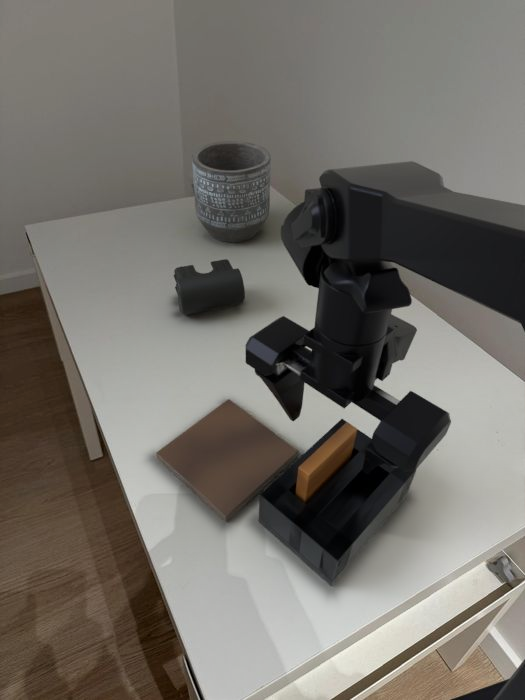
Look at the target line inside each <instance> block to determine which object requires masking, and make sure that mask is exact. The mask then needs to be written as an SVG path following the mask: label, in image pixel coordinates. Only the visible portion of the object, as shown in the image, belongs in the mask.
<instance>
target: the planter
mask: <svg viewBox="0 0 525 700" xmlns="http://www.w3.org/2000/svg"><path fill="white" fill-rule="evenodd" d="M271 160H272V159H271V154H270V152H269V151H268V150H267V148H265V147H263V146H262V145H259V144H255V143H251V142H247V141H241V140H240V141H239V140H222V141H215V142H214V141H213V142H209V143H207V144H203V145H201V146H200V147H198V148H196V149H195V150H194V151H193V153H192V155H191V164H192V180H193V181H192V182H193V192H194V207H195V215H196V218H197V220H199V222H200V223H201V225H202V227H203V228H204V229H205V230H206V232H207V233H208V234H209V235H210V236H211V237H212V238H213V239H215V240H218V241H220V242H224V243H242V242H246V241H248V240H250V239H252V238H254V237H256V235H257V233H259V231H260V229H262V227H263V226H264V224H265V222H266V221H267V220H268V217H269V215H270V207H271V197H270V196H271V194H270V192H271Z"/></svg>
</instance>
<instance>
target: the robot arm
mask: <svg viewBox="0 0 525 700" xmlns="http://www.w3.org/2000/svg"><path fill="white" fill-rule="evenodd" d="M318 180H319V184H320V187H316V188H315V187H314V188H307V189H305V190H304V197H303V202H301V203H299V204H298V205H296V206H294V208H292V210H291V211H290V212H289V213H288V214H287V216H286V217H285V219H284V221H283V223H282V224H281V226H280V239H281V242H282V244H283V246H284V247H285V249H286V252H287V253H288V255H289V256H290V258H291V259H292V262H293V263H294V264H295V265H294V266H296V268H297V270H298V272H299V274H300V275H301V276H302V278H303V281H304V282H305V283H306V284H307V286H310V287H313V288H316V289H318V291H317V301H316V308H315V318H314V327H313V328H312V329H310V330H308V329H307V328H305V327H303V326H302V325H300V324H298V323H297V322H296V321H294V320H292V319H290V318H288V317H286V316H285V315H282V316H280V317H278V318H276V319H275V320H274V321H272V322H271V323H269V324H267V325H266V326H264V327H263V328H261V329H260V330H258V331H257V332H256V333H254V334H252V335H251V336H250V337H249V338H248V340H247V341H246V343H245V364H247V366H249V367H251V368H253V369H254V373H255V375H256V376H258V377H259V379H261V381H262V382H263V383H264V384H265V386H266V387H267V388H268V390H269V391H270V392H271V394H272V395H273V396H274V398H275V399H276V401H277V402H278V404H279V405H280V407H281V408H282V410H283V411H284V413H285V414H286V415H287V418H289V420H290V421H291V422H295V421H296V420H297V419H298V418H300V416H301V412H302V409H303V403H304V393H305V385H307V386H309V387H310V388H311V389H313V390H315V391H317V392H318V393H320V394H321V395H323V396H324V397H325V398H327V399H329V400H330V401H332V402H333V403H335V404H337V405H338V406H339V407H341V408H342V409H346V408H347V407H348V406H349V405H350V404H351V403H352V404H354V405H355V406H357V407H359V409H361V410H363V411H364V412H366V413H368V414H369V415H371V416H372V417H374V418H375V419H377V420H378V421H379V423H378V425H377V426H376V427H375V429H374V431H373V433H372V436H371V439H372V440H371V443H370V444H369V445H368V446H367V448H366V452H365V458H364V463H363V471H364V473H366V474H368V473H369V472H370V471H371V470H372V469H373V468H375V467H376V466H379V465H382V464H387V465H388V466H390V467H392V468H397V467H399V468H401V469H402V470H404V471H415V470H416V469H417V470H418V468H419V467H420V466H421V464H422V463H423V462H424V461H425V460H426V459H427V457H428V456H429V455H430V454H431V453H432V451H434V449H435V448H436V447H437V446H438V445H439V444H440V443H441V441H442V440H443V439H444V437H445V436H446V435H447V433H448V431H449V428H450V426H451V423H452V419H451V416H450V415H451V414H450V412H448V411H446V410H445V409H443V408H441V407H440V406H438V405H437V404H435V403H432V402H431V401H429V400H428V399H426V398H424V397H423V396H421V395H419V394H418V393H416V392H414V391H413V390H409V392H407V394H406V395H404V396H403V398H401V400H400V399H398V398H396V397H395V396H393V395H391V394H389V393H388V392H387V391H385V390H383V389H381V388H380V387H378V386H377V385H375V383H376V380H379V381H381V382H383V381H384V380H385V379H386V378H388V377H389V376H390V375H391V371H392V368H393V364H396V363H398V362H399V361H404V360H405V359H406V356H407V354H408V352H409V349H410V347H411V345H412V343H413V341H414V338H415V336H416V333H417V332H418V329H417V327H416V326H415V325H413V324H411V323H410V322H407V321H406V320H404V319H401V318H399V316H396V315H394V314H392V311H393V310H395V309H401V308H408V307H410V306H411V305H412V303H413V300H412V295H411V292H410V289H409V288H408V286H407V285H406V284H405V283H404V281H403V280H402V278H401V275H400V271H399V269H398V268H397V267H395V266H394V264H396V265H397V266H400V267H402V268H405V269H406V270H408V271H411V272H413V273H415V274H417V275H418V276H421V277H423V278H425V279H427V280H429V281H431V282H432V283H435V284H438V285H439V286H441V287H443V288H446V289H448V290H450V291H452V292H454V293H457V294H458V295H461V296H462V297H465V298H467V299H469V300H470V301H473V302H475V303H477V304H478V305H480V306H483V307H485V308H486V309H490V310H491V311H493V312H495V313H498V314H499V315H502V316H503V317H506V318H508V319H510V320H512V321H514V322H516V323H518V324H520V325H521V328H522V329H523V332H525V204H521V203H515V202H510V201H505V200H500V199H499V200H498V199H494V198H490V197H483V196H479V195H474V194H468V193H463V192H457V191H453V190H452V189H450V188H447V187H445V186H444V185H445V184H444V179H443V176H442V175H441V174H440V173H439V172H436V171H435V170H432V169H430V168H428V167H426V166H424V165H423V164H421V163H419V162H416V161H413V160H409V161H401V162H399V161H398V162H389V163H380V164H370V165H359V166H349V167H339V168H329V169H326V170H324V171H323V172H322V173H321V175H320V176H319V178H318ZM392 263H394V264H392ZM417 470H416V471H417ZM450 700H525V658H524V659H523V660H522V662H521V663H520V664H519V665H518V667H517V668H516V670H515V671H514V672H513V674H512V675H511V676H510V677H509V678H507V679H503V680H502V681H499V682H495V683H493V684H491V685H487V686H484V687H482V688H479V689H476V690H473V691H470V692H468V693H464V694H462V695H459V696H457V697H453V698H451V699H450Z"/></svg>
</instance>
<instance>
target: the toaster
mask: <svg viewBox="0 0 525 700" xmlns="http://www.w3.org/2000/svg"><path fill="white" fill-rule="evenodd" d="M346 422H347V420H345V419H344V418H340V419H339V421H337V422H336V423H335V424H334V425H333V426H332V427H331V428H330V429H329V430H328V431H327V432H326V433H324V434H323V435H322V436H321V437H320V438H319V439H318V440H317V441H315V443H314V444H313V445H311V446H310V447H309V448H308V449H307V450H306V451H305V452H304V453H303V454H302V455H301V456H300V457H298V458H297V459H295V461H293V463H291V465H290V466H289V467H288V468H286V469H285V470H284V471H283V472H281V474H280V475H278V477H276V479H275V480H273V481H272V483H270V484H269V485H268V486H267V487H266V488H265V489H264V490H263V491H262V492H261V493H259V496H258V497H259V501H258V523H259V524H260V525H261V526H262V527H263V528H264V529H266V530H267V531H268V532H269V533H271V534H272V535H273V536H274V537H275V538H276V539H277V540H278V541H279V542H280V543H281V544H283V545H284V546H285V547H286V548H287V549H289V550H290V552H292V553H293V554H294V555H295V556H297V558H298V559H300V560H301V562H303V563H304V564H305V565H306V566H308V567H309V568H310V569H311V570H312V571H313V572H314V573H315V574H317V575H318V576H319V577H320V578H321V579H322V580H324V582H326V584H328V585H329V586H330V587H333V585H334V584H335V582H336V581H337V580H338V579H339V578H340V577H341V575H342V574H343V573H344V572H345V571H346V569H348V567H350V565H351V564H352V563H353V562H354V560H355V559H356V557H358V555H359V554H360V553H361V552H362V550H363V549H364V548H365V547H366V545H367V544H368V543H369V542H370V541H371V539H372V538H373V537H374V536H375V535H376V534H377V532H378V531H379V530H380V529H381V528H382V527H383V525H384V524H385V523H386V521H388V519H389V518H390V517H391V515H392V514H394V512H395V511H396V510H397V508H398V507H399V506H400V505H401V504H402V502H403V501H404V500H405V499H406V498H407V496H408V493H409V490H410V489H411V485H412V482H413V481H414V477H415V475H416V472H417V470H418V468H417V469H416V470H415V471H404V470H402V469H401V468H399V467H397V468H392V467H390V466H388V465H387V464H382V465H379V466H376V467H375V468H373V469H372V470H371V471H370V472H369V473H368V474H366V473H364V471H363V463H364V458H365V452H366V448H367V446H368V445H369V444H370V443H371V440H372V437H370V436H369V435H367V434H366V433H364V432H363V431H361V430H359V428H357V433H356V437H355V442H354V446H353V450H352V455H351V459H350V461H349V462H348V463H347V465H346V466H345V467H344V468H343V469H342V470H341V471H340V472H339V473H338V474H337V475H336V476H335V477H334V478H333V479H332V480H331V481H330V482H329V483H328V484H327V485H326V486H325V487H324V488H323V489H322V490H321V491H320V492H319V493H318V494H317V495H316V496H315V497H314V498H313V499H312V500H311V501H310V502H309V503H308V504H307V505H306V504H305V503H304V502H303V501H301V500H300V499H299V498H298V497H296V496H295V493H296V485H297V476H298V468H299V466H300V465H301V464H303V463H304V462H305V461H306V460H307V459H308V458H309V457H310V456H311V455H312V454H313V453H314V452H315V451H316V450H317V449H319V448H320V447H321V446H322V445H323V444H324V443H325V442H326V441H327V440H328V439H329V438H330V437H331V436H332V435H333V434H335V433H336V432H337V431H338V430H339V429H340V428H341V427H342V426H343V425H344V424H345V423H346Z"/></svg>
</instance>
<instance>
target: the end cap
mask: <svg viewBox="0 0 525 700" xmlns="http://www.w3.org/2000/svg"><path fill="white" fill-rule="evenodd" d="M229 260H230V259H227V258H225V259H219V260H213V261H210V266H211V267H212V270H211V271H209V272H199V271H197V270H196V268H195V266H194V264H188V265H184V266H178V267H176V268H175V269H174V274H173V278H174V281H175V283H176V284H175V287H174V290H175V291H176V294H177V301H178V308H179V309H178V310H179V312H180V314H181V315H184V316H187V315H192V314H197V313H202V312H208V311H212V310H218V309H223V308H227V307H234V306H237V305H240V304H243V303H244V302H245V297H246V293H245V291H246V290H245V283H244V278H243V275H242V272H241V270H240V268H233V266H232V263H231V262H230V261H229Z"/></svg>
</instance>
